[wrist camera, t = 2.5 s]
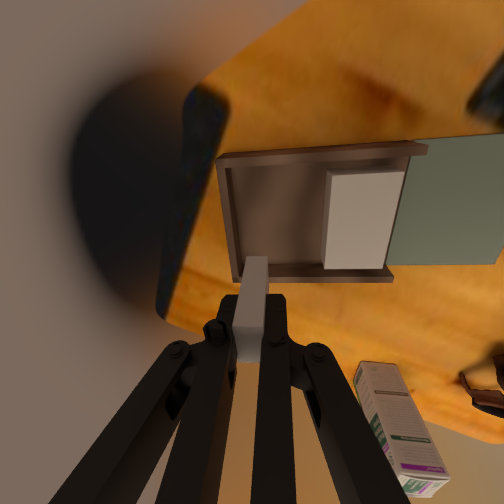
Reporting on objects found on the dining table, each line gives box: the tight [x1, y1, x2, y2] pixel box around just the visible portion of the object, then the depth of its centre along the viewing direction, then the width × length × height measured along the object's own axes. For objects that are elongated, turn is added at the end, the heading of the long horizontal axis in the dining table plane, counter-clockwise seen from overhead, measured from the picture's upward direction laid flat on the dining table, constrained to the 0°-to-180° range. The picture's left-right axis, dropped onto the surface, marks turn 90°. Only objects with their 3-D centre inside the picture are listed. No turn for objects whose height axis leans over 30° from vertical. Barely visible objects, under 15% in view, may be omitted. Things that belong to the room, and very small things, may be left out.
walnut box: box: [215, 140, 429, 283], centre depth 26 cm, size 18×14×4 cm
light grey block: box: [320, 165, 405, 269], centre depth 24 cm, size 6×10×3 cm, turn 5°
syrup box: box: [353, 361, 451, 498], centre depth 34 cm, size 6×6×14 cm
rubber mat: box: [384, 133, 504, 265], centre depth 25 cm, size 12×14×1 cm
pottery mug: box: [460, 354, 504, 418], centre depth 34 cm, size 12×10×8 cm
